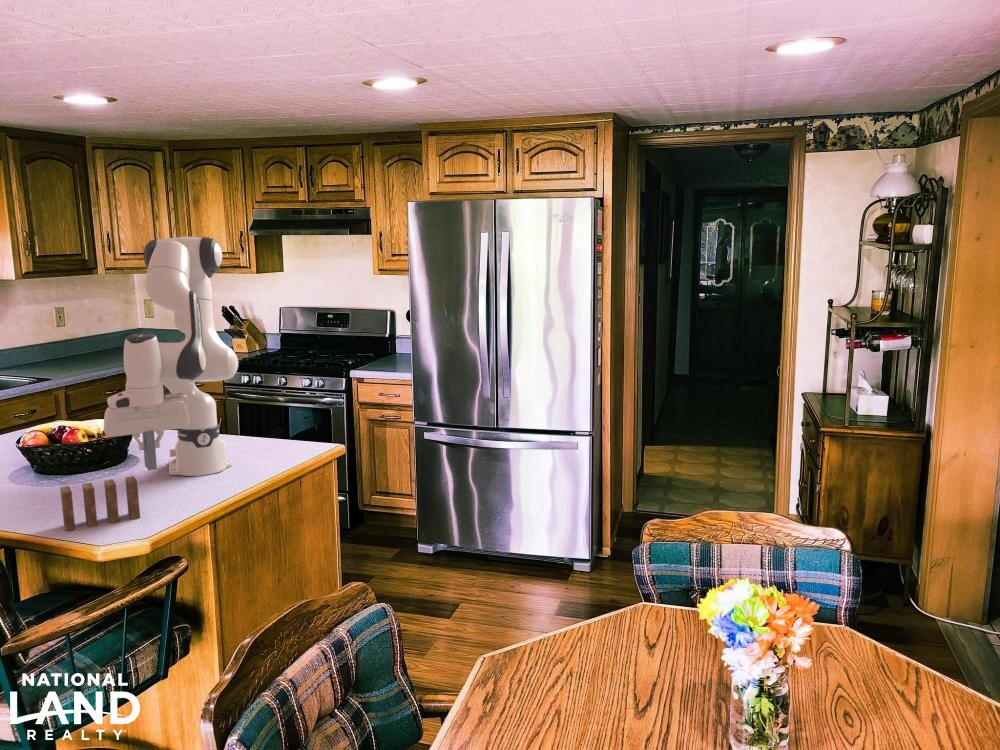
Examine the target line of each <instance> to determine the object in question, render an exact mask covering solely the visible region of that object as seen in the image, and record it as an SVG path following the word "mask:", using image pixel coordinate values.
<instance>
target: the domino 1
mask: <svg viewBox="0 0 1000 750" xmlns="http://www.w3.org/2000/svg"><path fill="white" fill-rule="evenodd" d="M72 492H73V491H72V489H71V487H70V485H66V486H61V487H60V497H61V498H60V500H61V508H62V510H61V511H62V520H63V526H64V530H65V532H69V531H70V532H71V531H75V530H76V524H75V523H76V522H75V515H74V503H73V493H72Z"/></svg>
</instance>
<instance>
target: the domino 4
mask: <svg viewBox="0 0 1000 750" xmlns="http://www.w3.org/2000/svg"><path fill="white" fill-rule="evenodd" d="M124 481H125V488H126V489H125V490H126V501H127V512H128V513H127V514H128V515H129V517H130V519H131V520H136V519H140V518H141V511H140V503H139V502H140V500H139V499H140V497H139V489H138V481H137V479H136V477H135V476H134V475H131V476H125V480H124Z"/></svg>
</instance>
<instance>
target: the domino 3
mask: <svg viewBox="0 0 1000 750" xmlns="http://www.w3.org/2000/svg"><path fill="white" fill-rule="evenodd" d="M103 481H104V482H103V483H104V485H103V486H104V493H105V494H104V495H105V503H106V504H105V506H106V513H107V515H106V516H107V519H108V521H109V523H110V524H114V523H118V522H120V515H119V506H118V504H119V503H118V493H117V484H116V481H114V479H113V478H111V479H105V480H103Z"/></svg>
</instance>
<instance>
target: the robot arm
mask: <svg viewBox="0 0 1000 750" xmlns="http://www.w3.org/2000/svg"><path fill="white" fill-rule="evenodd" d="M143 261H144V264H145V266H146V268H147V271H146V276H145V292H146V294H147V296H148V297H149V299H150V300H152V302H154V303H155V304H156V305H158V306H159V307H161V308H163V309H166V310H168V311H172V312H173V315H174V316H173V320H174V322H173V323H174V325H175V328H176V329H177V330H178V331H180V332H182V333H183V334H184V336H185V337H184V338H185V339H183V340H182V341H180V342H160V341H158V338H157V337H158V336H157V335H156V334H154V333H152V332H138V333H132V334H131V335H130V334H129V335H128V336H127V337H125V339H124V345H123V370H124V373H125V375H126V382H125V390H124V391H121V392H118V393H116V394H114V395H110V396H109V397H108V398H107V399H106V402H107V405H108V407H107V408H106V409H105V412H104V417H103V432H104V434H105V435H106V436H107V437H109V438H113V437H114V438H116V437H123V436H130V435H132V437H133V438H134V440H135V442H137V444H138V450H139V451H144V450H146V447H145V446H146V444H145V442H143V441H141V440H140V439H139V438H141V434H142V433H145V432H150V431H154V433H155V434H156V435H157V436H156V437H155V449H160V448H161V443H160V442H161V440H162V438H163V437H164V432H165V431H169V430H177V438H178V439H177V441H176V444H175V445H174V448H173V449H169V457H171V458H172V459H169V460H168V475H170V476H186V477H197V476H198V477H200V476H201V477H202V476H208V475H213V474H216V473H219V472H220V473H221V472H222V471H224V470H226V469H227V468H228V467H229V468H230V467H231V466H233V462H232V461H230V460H228V458H227V450H226V449H227V448H226V441H225V440H224V439H222V438H221V437H220V425H219V424H218V417H217V403H216V401H215V399H214V398H213V397H212V395H210V394H209V393H206V392H204V391H202V390H200V389H199V388H198V387H197V386H196V383H202V382H205V383H207V382H211V383H212V382H221V381H226V380H229V379H232V378H233V377H234V376H235V375H236V373H237V371H238V368H239V359H238V355H237V354H236V352H235V351H234V349H232V347H230V346H228V345H227V344H225V343H224V342H223V340H222V339H221V338H220V336H219V334H218V333H217V331H216V330H217V329H216V327H215V321H214V307H213V288H212V282H211V278H212V277H213V275H214V274H215V273H217V272H218V271H219V269H220V267H221V266H222V263H223V251H222V248H221V245H220V243H219V241H217V240H216V239H215V238H213V237H207V236H203V237H200V236H199V237H197V236H180V237H170V238H169V237H168V238H154V239H150V240H149V241H148V242H147V243H146V244H145V246H144V248H143ZM164 387H166V389H168V391H169V392H170V393H168V394H165V393H164Z"/></svg>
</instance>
